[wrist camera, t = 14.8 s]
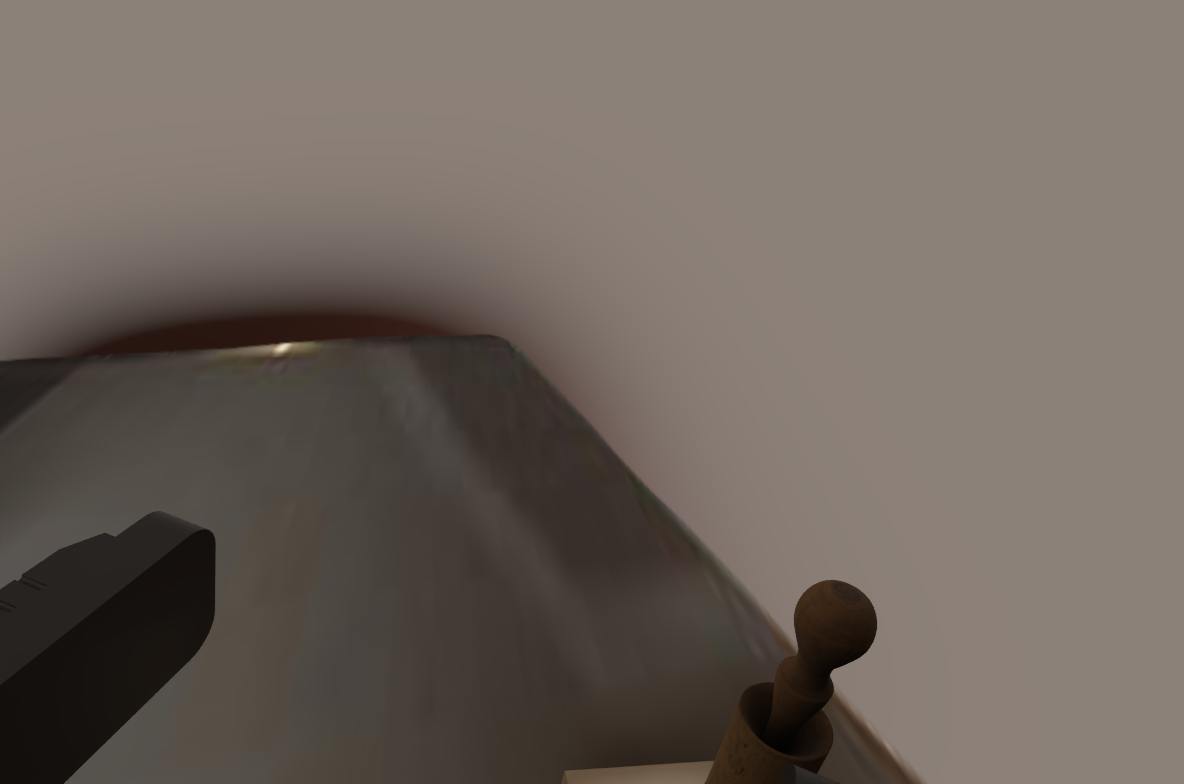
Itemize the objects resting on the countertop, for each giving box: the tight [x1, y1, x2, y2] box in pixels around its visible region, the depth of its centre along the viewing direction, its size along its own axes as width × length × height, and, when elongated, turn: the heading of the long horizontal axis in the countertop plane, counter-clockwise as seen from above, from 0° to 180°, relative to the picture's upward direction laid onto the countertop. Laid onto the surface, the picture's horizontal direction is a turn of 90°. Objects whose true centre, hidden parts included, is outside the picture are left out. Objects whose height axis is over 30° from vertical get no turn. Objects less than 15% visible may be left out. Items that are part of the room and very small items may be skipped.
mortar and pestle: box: [705, 580, 877, 784], centre depth 35 cm, size 7×6×18 cm
